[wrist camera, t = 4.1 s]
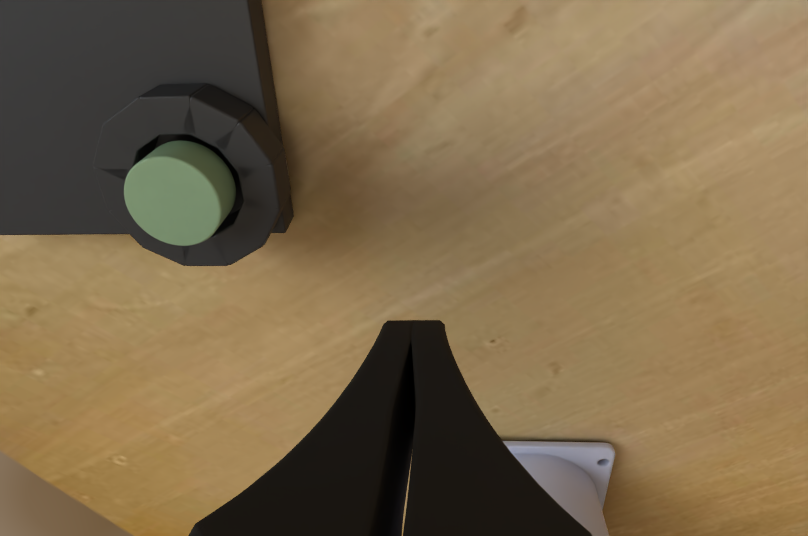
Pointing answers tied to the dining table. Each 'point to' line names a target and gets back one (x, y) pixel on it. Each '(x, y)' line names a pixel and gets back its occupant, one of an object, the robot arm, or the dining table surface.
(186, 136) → the scale
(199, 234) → the button
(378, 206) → the dining table surface
